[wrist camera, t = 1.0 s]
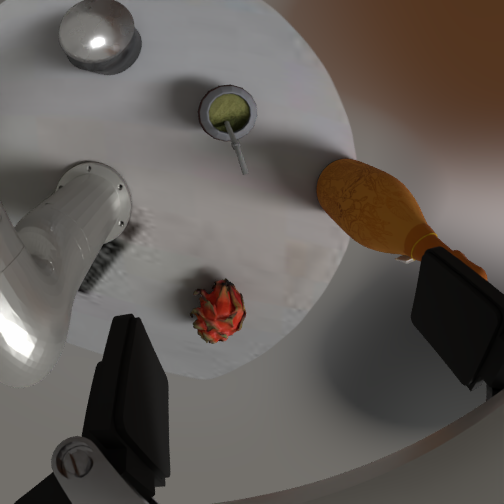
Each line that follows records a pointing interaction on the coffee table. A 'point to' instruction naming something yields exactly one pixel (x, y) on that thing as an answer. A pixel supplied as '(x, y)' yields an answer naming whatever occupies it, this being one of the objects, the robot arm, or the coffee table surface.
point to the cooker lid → (96, 30)
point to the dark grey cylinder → (115, 59)
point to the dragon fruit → (219, 312)
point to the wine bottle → (378, 211)
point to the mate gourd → (228, 116)
